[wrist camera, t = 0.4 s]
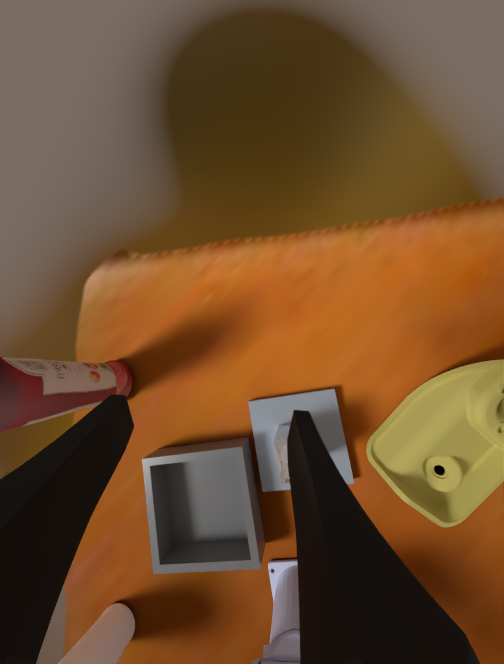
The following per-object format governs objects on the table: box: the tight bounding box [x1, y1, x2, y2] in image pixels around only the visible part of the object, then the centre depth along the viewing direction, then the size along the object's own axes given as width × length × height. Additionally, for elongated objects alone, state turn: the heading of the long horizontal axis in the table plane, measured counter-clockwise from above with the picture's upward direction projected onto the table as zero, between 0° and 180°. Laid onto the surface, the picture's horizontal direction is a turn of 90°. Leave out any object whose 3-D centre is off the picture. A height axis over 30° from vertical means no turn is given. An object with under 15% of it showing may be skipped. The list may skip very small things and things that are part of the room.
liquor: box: [0, 357, 132, 432], centre depth 28 cm, size 7×7×28 cm
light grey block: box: [274, 424, 291, 484], centre depth 32 cm, size 5×5×7 cm
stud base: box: [248, 388, 354, 492], centre depth 33 cm, size 12×12×6 cm
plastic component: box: [367, 359, 504, 527], centre depth 31 cm, size 20×7×10 cm
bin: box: [142, 437, 265, 574], centre depth 35 cm, size 14×14×4 cm
